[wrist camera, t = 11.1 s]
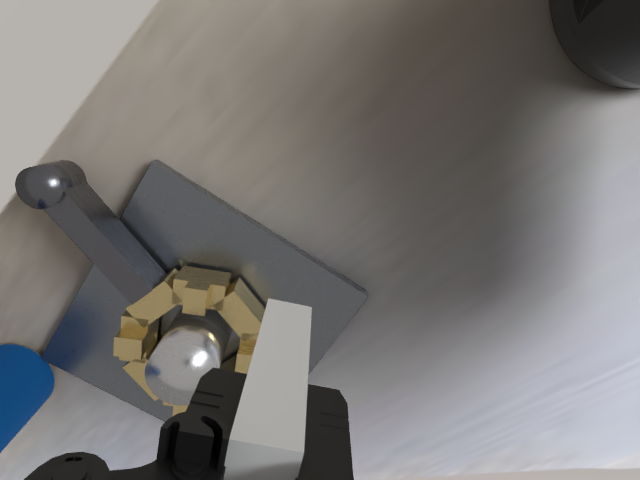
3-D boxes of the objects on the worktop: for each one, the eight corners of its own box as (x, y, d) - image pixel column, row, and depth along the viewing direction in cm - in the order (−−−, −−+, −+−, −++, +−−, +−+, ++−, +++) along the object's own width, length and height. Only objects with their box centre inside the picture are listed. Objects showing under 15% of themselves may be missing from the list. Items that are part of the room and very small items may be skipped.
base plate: (157, 159, 35) (113, 175, 27) (366, 290, 38) (381, 338, 30) (48, 350, 39) (-17, 412, 31) (244, 451, 43) (230, 529, 35)
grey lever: (293, 343, 38) (292, 370, 34) (192, 408, 39) (180, 441, 35) (109, 118, 32) (82, 120, 28) (-1, 206, 34) (-40, 219, 30)
